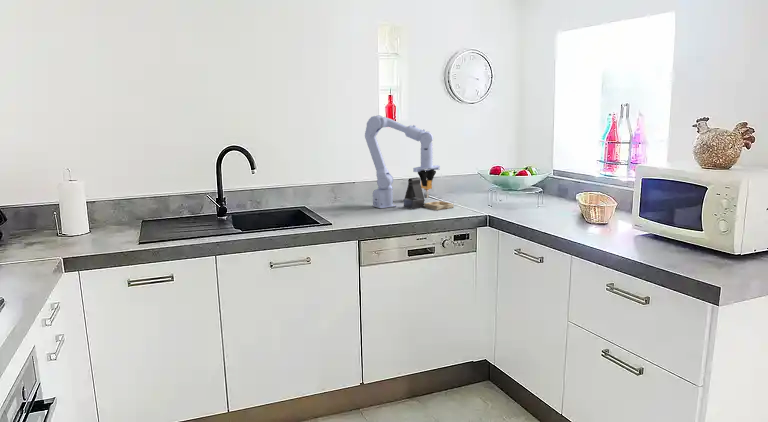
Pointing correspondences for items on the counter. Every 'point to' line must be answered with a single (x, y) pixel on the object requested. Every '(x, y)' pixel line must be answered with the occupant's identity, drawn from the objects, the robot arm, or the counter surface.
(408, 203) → the chuck block
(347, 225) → the counter surface
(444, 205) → the key tray
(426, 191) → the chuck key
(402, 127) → the robot arm
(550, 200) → the counter surface
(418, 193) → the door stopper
